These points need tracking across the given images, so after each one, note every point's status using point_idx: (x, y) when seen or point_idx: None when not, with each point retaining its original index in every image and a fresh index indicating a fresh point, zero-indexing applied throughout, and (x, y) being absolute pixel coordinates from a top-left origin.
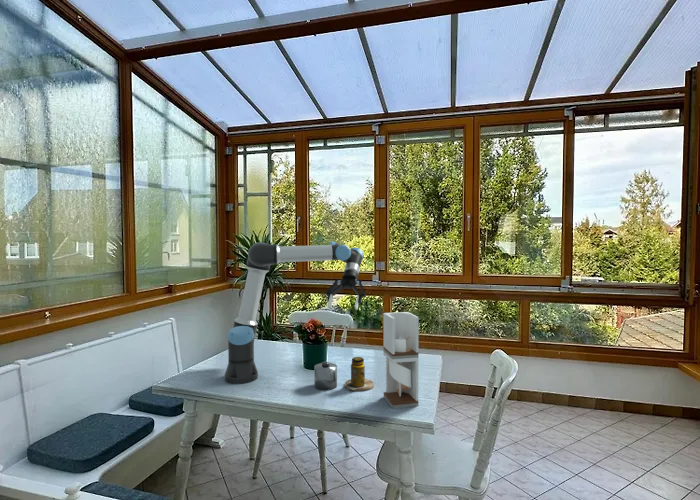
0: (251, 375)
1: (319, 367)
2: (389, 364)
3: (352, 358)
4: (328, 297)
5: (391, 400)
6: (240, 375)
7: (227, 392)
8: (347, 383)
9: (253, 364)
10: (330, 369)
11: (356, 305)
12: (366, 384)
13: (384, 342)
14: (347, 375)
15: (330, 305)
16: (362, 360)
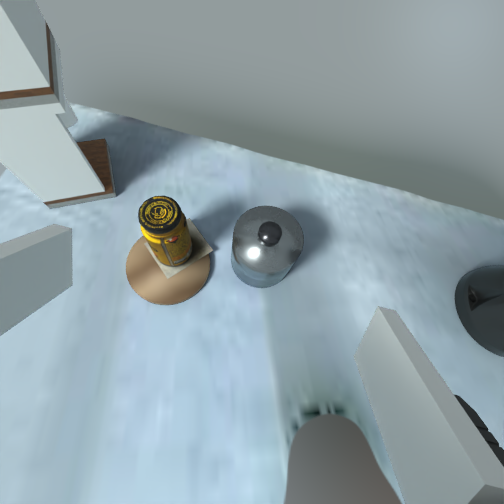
0: (470, 283)
1: (285, 225)
2: (65, 102)
3: (178, 213)
4: (493, 449)
5: (103, 150)
6: (492, 266)
7: (467, 221)
8: (202, 262)
9: (499, 297)
10: (250, 209)
11: (40, 231)
12: (149, 256)
13: (38, 60)
14: (203, 350)
15: (368, 367)
16: (144, 202)
